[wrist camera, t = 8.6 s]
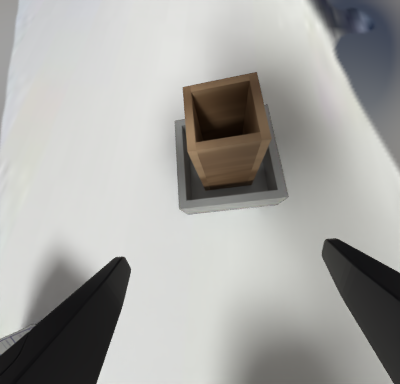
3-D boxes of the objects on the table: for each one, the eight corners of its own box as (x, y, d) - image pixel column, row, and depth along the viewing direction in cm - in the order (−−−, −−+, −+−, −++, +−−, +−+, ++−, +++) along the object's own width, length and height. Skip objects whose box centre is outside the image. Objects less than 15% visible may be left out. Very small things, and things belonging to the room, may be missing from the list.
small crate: (251, 184, 21) (271, 138, 11) (205, 190, 21) (187, 151, 12) (244, 144, 22) (256, 72, 13) (201, 150, 23) (182, 87, 13)
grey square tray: (277, 204, 20) (288, 197, 16) (187, 214, 22) (179, 209, 18) (260, 126, 23) (267, 104, 19) (183, 139, 24) (174, 120, 21)
